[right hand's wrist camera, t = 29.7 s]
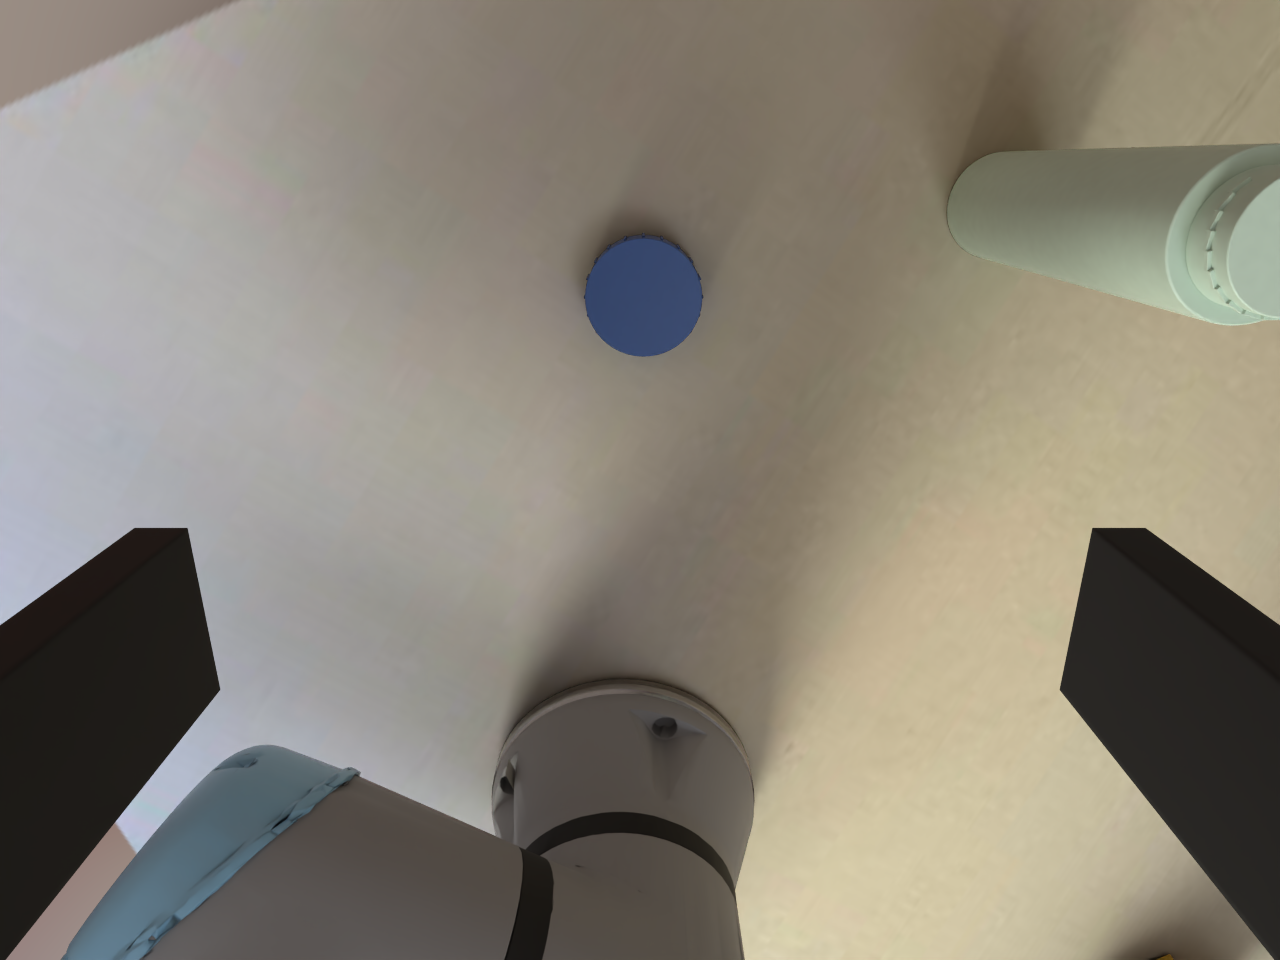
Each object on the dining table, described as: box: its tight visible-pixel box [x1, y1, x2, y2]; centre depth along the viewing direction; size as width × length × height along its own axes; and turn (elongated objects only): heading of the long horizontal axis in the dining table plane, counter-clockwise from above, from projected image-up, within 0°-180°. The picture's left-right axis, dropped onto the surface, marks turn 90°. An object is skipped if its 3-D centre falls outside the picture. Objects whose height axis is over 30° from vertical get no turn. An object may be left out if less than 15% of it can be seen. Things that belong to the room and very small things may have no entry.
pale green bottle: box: [947, 144, 1280, 326], centre depth 30 cm, size 5×5×19 cm
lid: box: [584, 233, 703, 356], centre depth 40 cm, size 6×5×2 cm
